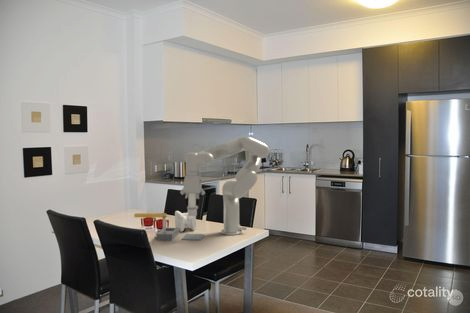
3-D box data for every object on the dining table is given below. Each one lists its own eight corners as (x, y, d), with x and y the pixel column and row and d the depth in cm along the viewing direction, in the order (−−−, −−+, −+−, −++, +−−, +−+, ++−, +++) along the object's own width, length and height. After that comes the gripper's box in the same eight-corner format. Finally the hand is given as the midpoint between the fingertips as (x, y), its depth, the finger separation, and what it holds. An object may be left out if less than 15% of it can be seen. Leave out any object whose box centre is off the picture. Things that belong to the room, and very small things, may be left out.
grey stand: (178, 233, 230) (178, 212, 229) (171, 240, 214) (171, 217, 213) (164, 233, 231) (164, 212, 230) (156, 240, 215) (155, 217, 214)
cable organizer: (196, 231, 235) (196, 213, 234) (180, 233, 231) (179, 214, 230) (190, 226, 249) (189, 208, 248) (174, 228, 245) (173, 210, 244)
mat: (204, 234, 226) (204, 233, 226) (200, 240, 214) (200, 239, 214) (186, 234, 227) (186, 233, 227) (181, 239, 215) (181, 238, 215)
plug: (199, 214, 223) (199, 192, 222) (196, 216, 217) (196, 193, 216) (188, 213, 224) (188, 191, 223) (185, 216, 217) (185, 193, 217)
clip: (135, 216, 216) (135, 213, 216) (167, 216, 216) (167, 213, 216) (134, 217, 213) (134, 214, 213) (166, 217, 213) (166, 214, 213)
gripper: (208, 173, 222) (208, 204, 223) (179, 173, 224) (179, 203, 225) (205, 174, 215) (205, 206, 215) (176, 174, 216) (176, 206, 217)
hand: (192, 204), depth 220 cm, fingers closed on plug, 5 cm apart
